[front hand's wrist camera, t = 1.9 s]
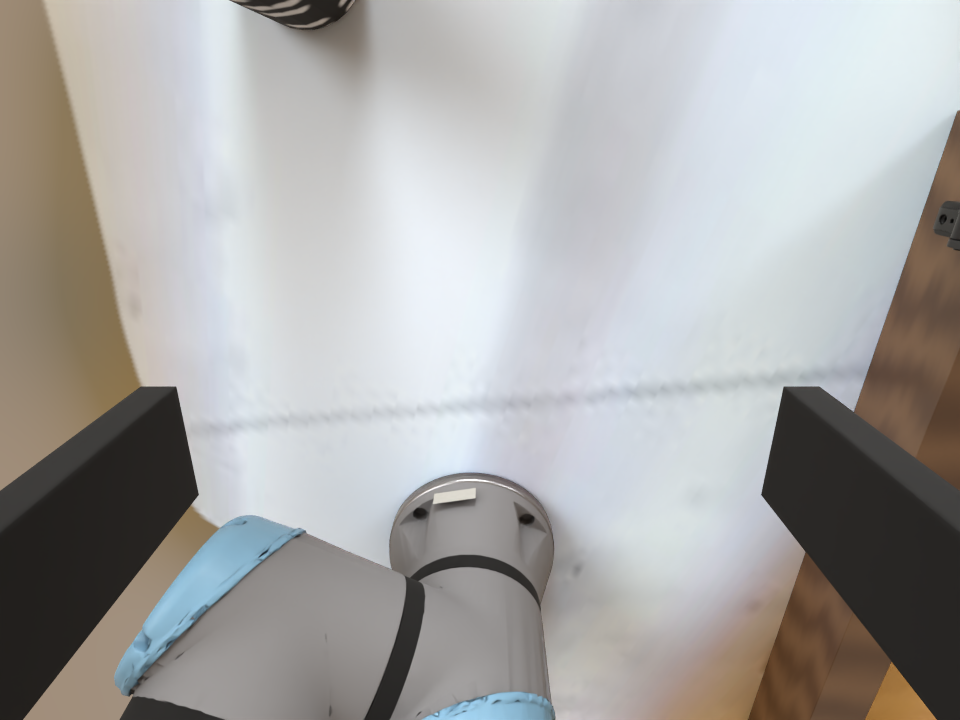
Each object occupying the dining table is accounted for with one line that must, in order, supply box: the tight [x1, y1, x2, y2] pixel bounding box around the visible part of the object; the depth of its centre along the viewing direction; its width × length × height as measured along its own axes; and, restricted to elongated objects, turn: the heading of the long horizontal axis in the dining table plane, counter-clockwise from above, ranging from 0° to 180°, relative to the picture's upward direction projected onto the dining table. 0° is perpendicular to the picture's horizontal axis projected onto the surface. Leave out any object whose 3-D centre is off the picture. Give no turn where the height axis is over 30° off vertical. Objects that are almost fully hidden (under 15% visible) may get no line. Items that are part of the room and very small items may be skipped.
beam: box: [748, 110, 960, 720], centre depth 49 cm, size 62×5×8 cm, turn 177°
